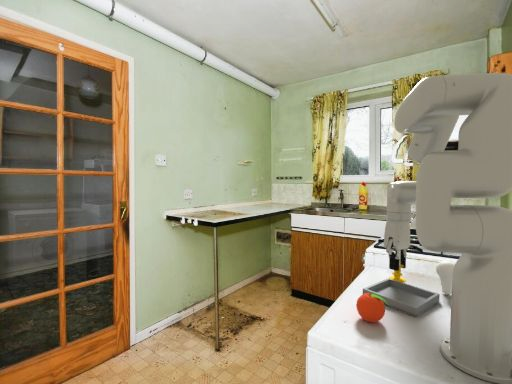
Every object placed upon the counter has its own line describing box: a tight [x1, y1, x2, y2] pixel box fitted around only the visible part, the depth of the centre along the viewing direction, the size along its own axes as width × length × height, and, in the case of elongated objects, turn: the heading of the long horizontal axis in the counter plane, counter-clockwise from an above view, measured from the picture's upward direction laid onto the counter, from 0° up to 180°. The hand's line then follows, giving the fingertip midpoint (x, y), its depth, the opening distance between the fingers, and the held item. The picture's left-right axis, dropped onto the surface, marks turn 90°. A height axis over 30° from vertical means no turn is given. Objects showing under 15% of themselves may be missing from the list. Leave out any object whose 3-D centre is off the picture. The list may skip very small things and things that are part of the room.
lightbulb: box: [435, 260, 456, 296], centre depth 84 cm, size 6×6×11 cm
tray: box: [362, 277, 441, 318], centre depth 81 cm, size 16×16×2 cm
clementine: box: [355, 293, 391, 323], centre depth 68 cm, size 8×7×7 cm
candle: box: [388, 250, 406, 283], centre depth 93 cm, size 5×5×16 cm
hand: (397, 268), depth 93 cm, fingers closed on candle, 3 cm apart
